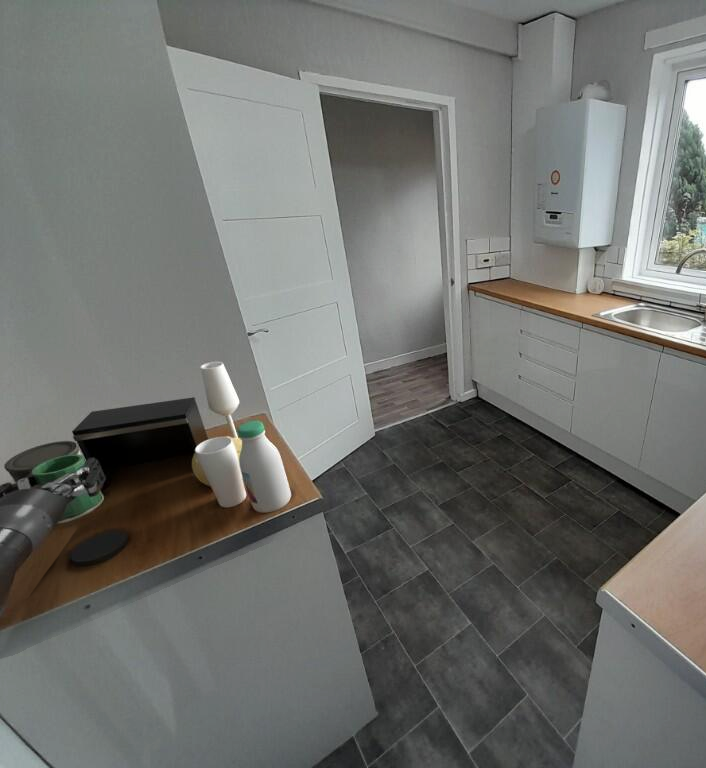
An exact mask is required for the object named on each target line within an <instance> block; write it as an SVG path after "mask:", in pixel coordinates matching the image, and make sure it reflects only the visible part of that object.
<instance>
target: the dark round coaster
mask: <svg viewBox="0 0 706 768" xmlns="http://www.w3.org/2000/svg"><path fill="white" fill-rule="evenodd" d="M129 541H130V538H129V534H128V533H127V532H126V531H124V530H122V529H120V530H119V529H114V530H108V531H104V532H101V533H98V534H96V535H93V536H91V537H89V538H87V539H86V540H84V541H83V542H80V544H78V545H77V546H76V547H74V549H73V550H72V551H71V553H70V560H71V562H72V563H73V564H74V565H75V566H80V567H84V566H92V565H95V564H98V563H102V562H104V561H106V560H108V559H110V558H112V557H114V556H115V555H117V554H118V553H120V552H121V551H122V550H123V549H125V547H126V546H127V545H128V544H129Z"/></svg>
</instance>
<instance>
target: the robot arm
mask: <svg viewBox="0 0 706 768" xmlns="http://www.w3.org/2000/svg"><path fill="white" fill-rule="evenodd" d="M81 475H82V477H83V480H81V481H80V480H79V476H81ZM105 479H106V477H105V475H104V473H103V471H102V469H101V467H100V464H99V462H98V460H96V459H95V458H88V460H87V461H86V460H85V463H84V465H83V466H82V467H81V468H80V469H79V470H78V471H76V472H74V473H73V474H71V473H68V474H65V475H64V476H62V477H60V478H58V479H57V480H55V481H53V482H49V483H45V484H37V482H36V480H35V478H34V476H33V474H32V472H30V473H29V474H28V475H27V476H26V477H25V478H23V479H20V480H18V481H17V483H15V482H14V483H11V482H6V483H3V484H1V485H0V616H2V614H3V613H4V612H5V609H6V608H7V605H8V602H9V599H10V595H11V590H12V587H13V584H14V581H15V575H16V573H17V572H18V571H19V570H20V569H21V568H22V566H23V565H24V563H25V562H26V561H27V559H29V557H30V556H31V555H32V554H33V553H34V552H35V551H36V550H37V549H38V548H39V547H40V546H41V545H42V544H43V543H44V541H45V540H46V538H48V536H49V534H50V533H51V532H52V531H53V529H54V528H55V527H56V526H57V525H58V524H57V523H58V522H59V520H60V519H61V518H62V516H63V514H64V512H65V509H66V505H67V504H68V503H69V502H70V501H72V500H74V499H75V498H76V496H79V495H83V494H87V493H88V495H89V497H93V496H96V495H98V494H99V492H100V490H101V488H102V486H103V483H104V481H105ZM66 481H68V483H69V484H67V483H66ZM56 524H57V525H56Z"/></svg>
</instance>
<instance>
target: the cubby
mask: <svg viewBox="0 0 706 768" xmlns="http://www.w3.org/2000/svg"><path fill="white" fill-rule="evenodd" d="M71 433H72V435H73V436H72V439H73V440H74V442H76V443H77V444H78V446H79V450H80V452H81V454H82V456H83V457H84V460H85V462H86V461H87V460H88V458H95V459H96V460H98V462H99V464H100V467H101V469H102V471H103V473H104V475H105V477H106V479H105V481H104V483H103V486H102V488H101V490H100V491H101V492H102V491H106V490H107V489H108V487H109V486H110V484H111V483H112V481H113V480H114V478H115V476H116V475H117V473H118V471H119V470H120V469H121V468H127V467H132V466H137V465H142V464H147V463H153V462H159V461H163V460H168V459H169V460H170V459H174V458H178V457H183V456H187V455H188V456H189V455H194V454H195V448H196V447H197V446H198V445H199V444H200V443H202V442H204V441H206V440H209V437H208V434H207V431H206V428H205V425H204V422H203V419H202V416H201V413H200V410H199V407H198V403H197V401H196V398H195V396H193V397H186V398H180V399H173V400H165V401H157V402H150V403H144V404H137V405H130V406H122V407H115V408H107V409H100V410H94V411H91V412H90V413H88V415H86V416H85V417H84V418H83V419H82V420H81V422H80V423H79V424H78V425H76V427H74V429H73V430H72V431H71Z"/></svg>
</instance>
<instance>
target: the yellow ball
mask: <svg viewBox="0 0 706 768" xmlns="http://www.w3.org/2000/svg"><path fill="white" fill-rule="evenodd" d="M225 437H229V438H231V439H232V441H233V443H234V446H235V448H236V451H237V455H238V459H239V457H240V453H241V449H242V440H241V439H240V438H239V437H238V438H233V437H232V436H228V435H227V436H225ZM191 469H192V472H193V475H194V476H195V477H196V479H197V480H198V481H199V482H200V483H202V484H204V485H205V486H208V487H211V486H210V484H209V483H208V481H207V479H206V477H205V475H204V473H203V471H202V469H201V467H200V465H199V462H198V459H197V456H196V453H195V454H193V456H192V458H191ZM241 474H242V473H241ZM242 478H243V476H242Z"/></svg>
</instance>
